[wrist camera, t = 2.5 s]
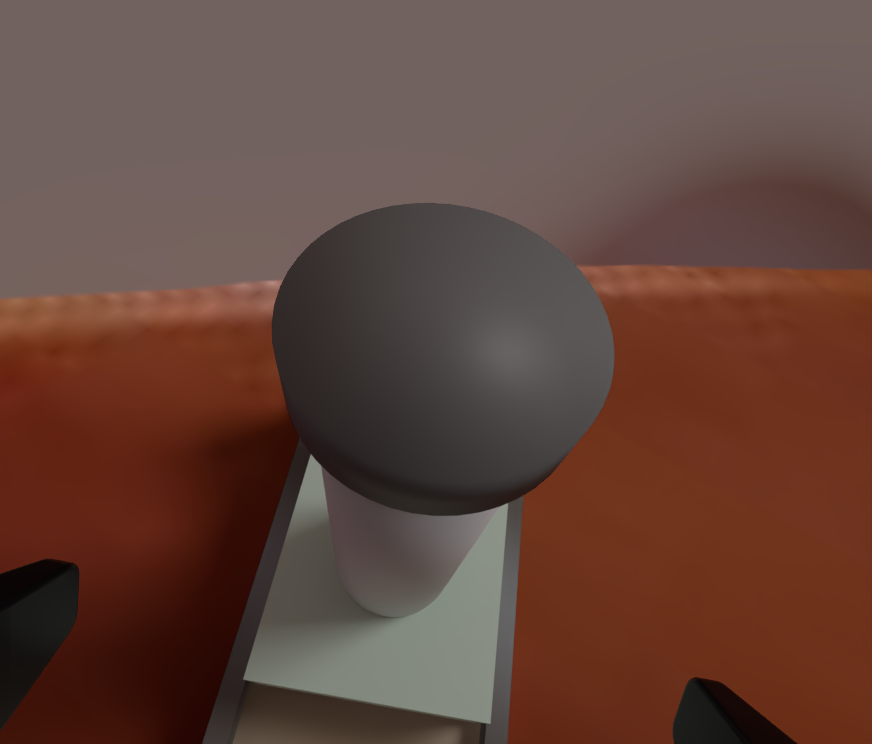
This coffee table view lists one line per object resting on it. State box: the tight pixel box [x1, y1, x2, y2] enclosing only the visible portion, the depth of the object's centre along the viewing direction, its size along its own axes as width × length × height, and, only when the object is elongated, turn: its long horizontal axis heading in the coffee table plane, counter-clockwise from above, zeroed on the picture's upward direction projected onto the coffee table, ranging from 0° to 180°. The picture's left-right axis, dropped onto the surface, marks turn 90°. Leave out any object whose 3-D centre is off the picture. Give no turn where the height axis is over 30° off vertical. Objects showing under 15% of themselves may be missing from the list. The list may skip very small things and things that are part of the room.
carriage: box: [243, 203, 614, 724], centre depth 12 cm, size 7×6×13 cm
